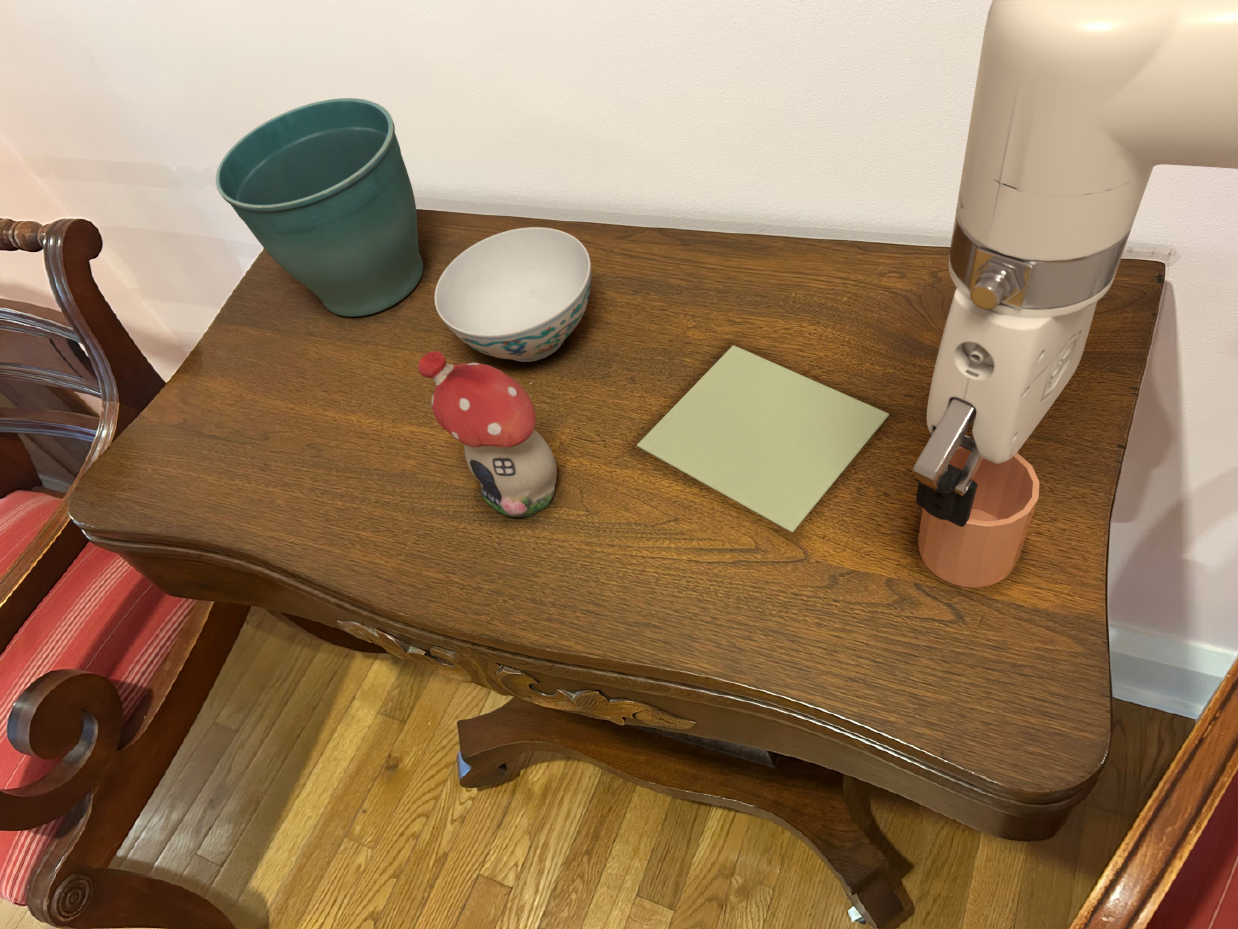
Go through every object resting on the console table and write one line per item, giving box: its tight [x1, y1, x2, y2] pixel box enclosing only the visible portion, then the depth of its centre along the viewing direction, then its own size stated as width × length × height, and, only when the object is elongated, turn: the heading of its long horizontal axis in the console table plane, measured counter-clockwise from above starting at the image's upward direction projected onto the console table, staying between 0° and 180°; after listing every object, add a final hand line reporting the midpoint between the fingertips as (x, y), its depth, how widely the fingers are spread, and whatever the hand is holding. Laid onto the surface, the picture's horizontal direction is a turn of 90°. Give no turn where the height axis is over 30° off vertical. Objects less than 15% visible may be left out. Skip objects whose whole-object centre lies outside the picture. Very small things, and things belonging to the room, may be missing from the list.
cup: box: [917, 446, 1040, 589], centre depth 59 cm, size 7×7×8 cm
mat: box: [636, 345, 890, 534], centre depth 72 cm, size 16×14×1 cm
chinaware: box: [434, 226, 592, 363], centre depth 82 cm, size 15×15×8 cm
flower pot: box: [215, 97, 424, 318], centre depth 89 cm, size 18×18×17 cm
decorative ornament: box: [417, 350, 558, 518], centre depth 68 cm, size 9×7×15 cm
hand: (980, 460), depth 54 cm, fingers open, 9 cm apart
